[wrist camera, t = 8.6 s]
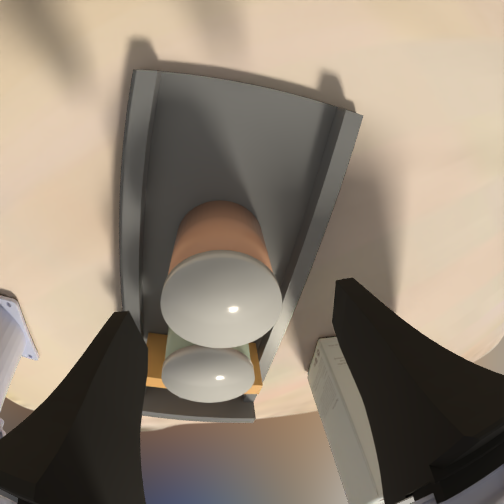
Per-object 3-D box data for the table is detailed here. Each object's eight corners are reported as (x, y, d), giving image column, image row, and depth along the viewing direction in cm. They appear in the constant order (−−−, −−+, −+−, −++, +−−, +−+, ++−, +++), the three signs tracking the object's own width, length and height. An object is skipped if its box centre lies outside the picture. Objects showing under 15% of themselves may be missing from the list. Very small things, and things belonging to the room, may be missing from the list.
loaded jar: (169, 332, 21) (163, 399, 16) (170, 277, 18) (160, 348, 14) (238, 337, 22) (245, 403, 17) (251, 284, 19) (264, 355, 15)
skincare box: (305, 374, 27) (343, 516, 15) (317, 333, 24) (373, 503, 11) (380, 362, 28) (431, 483, 16) (400, 322, 25) (471, 458, 12)
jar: (171, 270, 18) (159, 341, 13) (180, 192, 16) (163, 250, 11) (253, 280, 19) (265, 351, 14) (273, 206, 17) (297, 267, 12)
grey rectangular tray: (133, 382, 25) (128, 413, 22) (136, 69, 12) (114, 68, 9) (254, 392, 28) (258, 422, 25) (356, 113, 15) (389, 125, 12)
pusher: (148, 342, 21) (141, 394, 17) (148, 332, 21) (139, 385, 17) (252, 352, 23) (260, 403, 19) (255, 342, 23) (264, 395, 19)
